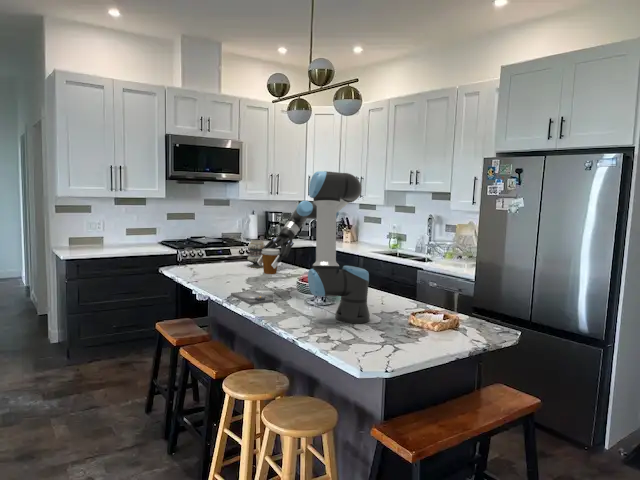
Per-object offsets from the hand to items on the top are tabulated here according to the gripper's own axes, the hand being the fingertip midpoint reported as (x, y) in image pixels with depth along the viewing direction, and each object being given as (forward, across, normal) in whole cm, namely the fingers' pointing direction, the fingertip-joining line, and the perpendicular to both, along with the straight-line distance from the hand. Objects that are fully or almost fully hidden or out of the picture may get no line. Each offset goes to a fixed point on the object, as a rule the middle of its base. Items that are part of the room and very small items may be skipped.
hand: (265, 265), depth 241 cm
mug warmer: (+16, +3, -7) cm, 18 cm away
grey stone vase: (-28, +65, -52) cm, 88 cm away
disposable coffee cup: (+1, 0, -6) cm, 6 cm away
